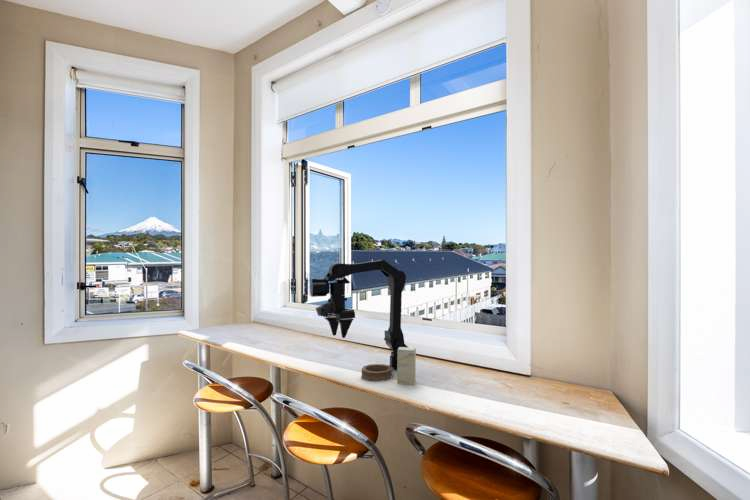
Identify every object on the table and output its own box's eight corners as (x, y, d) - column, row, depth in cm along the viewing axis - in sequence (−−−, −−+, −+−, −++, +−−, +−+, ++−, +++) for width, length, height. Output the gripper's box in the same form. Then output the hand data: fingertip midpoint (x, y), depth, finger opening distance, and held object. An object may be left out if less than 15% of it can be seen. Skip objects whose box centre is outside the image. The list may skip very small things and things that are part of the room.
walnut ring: (385, 370, 146) (385, 362, 146) (396, 378, 136) (396, 370, 136) (358, 373, 143) (358, 365, 143) (367, 382, 132) (367, 374, 132)
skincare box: (396, 383, 130) (396, 349, 131) (399, 379, 135) (398, 346, 135) (414, 385, 129) (414, 350, 129) (416, 381, 133) (415, 347, 134)
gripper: (309, 296, 147) (310, 336, 145) (326, 296, 131) (327, 341, 129) (335, 295, 152) (336, 333, 151) (355, 295, 136) (356, 338, 134)
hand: (338, 336), depth 141 cm, fingers open, 9 cm apart
